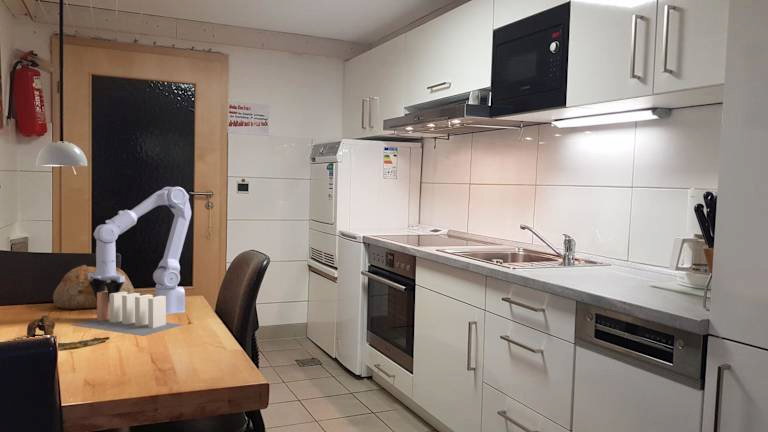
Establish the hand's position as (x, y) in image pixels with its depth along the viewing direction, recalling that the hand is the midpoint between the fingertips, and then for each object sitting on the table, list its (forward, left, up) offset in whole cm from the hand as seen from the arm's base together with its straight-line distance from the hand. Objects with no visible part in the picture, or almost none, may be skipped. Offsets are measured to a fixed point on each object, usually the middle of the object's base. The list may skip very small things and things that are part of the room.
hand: (106, 302), depth 186 cm
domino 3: (-5, +10, -5) cm, 12 cm away
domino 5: (-11, +19, -5) cm, 23 cm away
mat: (-4, +12, -6) cm, 14 cm away
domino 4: (-8, +14, -5) cm, 17 cm away
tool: (+16, +27, -7) cm, 32 cm away
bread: (-2, -30, -6) cm, 31 cm away
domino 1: (0, 0, -5) cm, 5 cm away
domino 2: (-3, +5, -5) cm, 8 cm away
